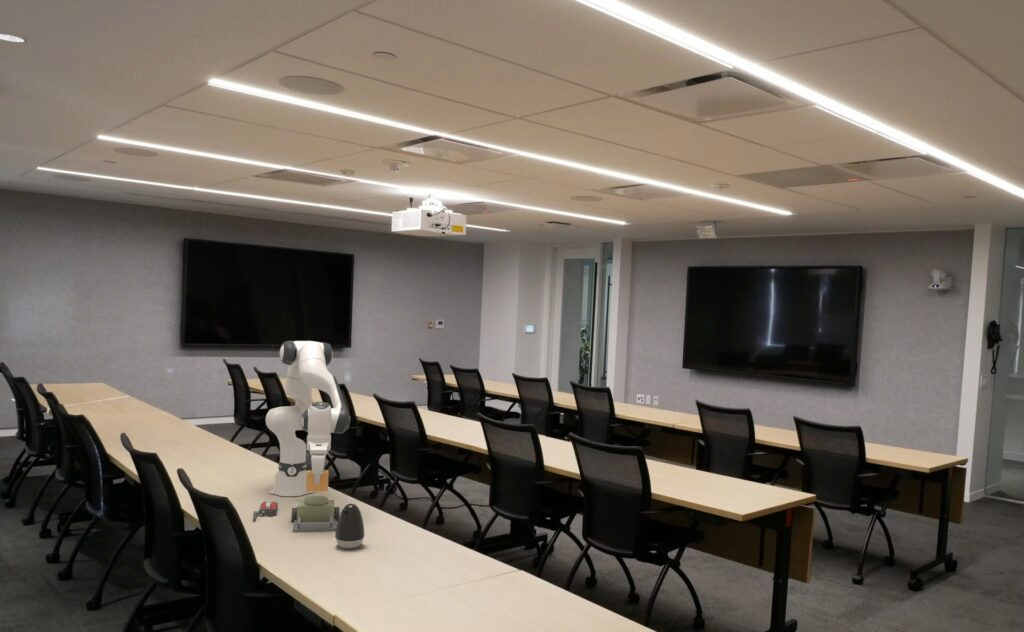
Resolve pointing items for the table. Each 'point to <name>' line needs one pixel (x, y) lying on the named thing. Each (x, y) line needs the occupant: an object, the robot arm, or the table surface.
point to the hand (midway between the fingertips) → (317, 481)
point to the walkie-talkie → (266, 509)
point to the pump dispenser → (350, 527)
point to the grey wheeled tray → (315, 515)
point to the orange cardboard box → (317, 487)
